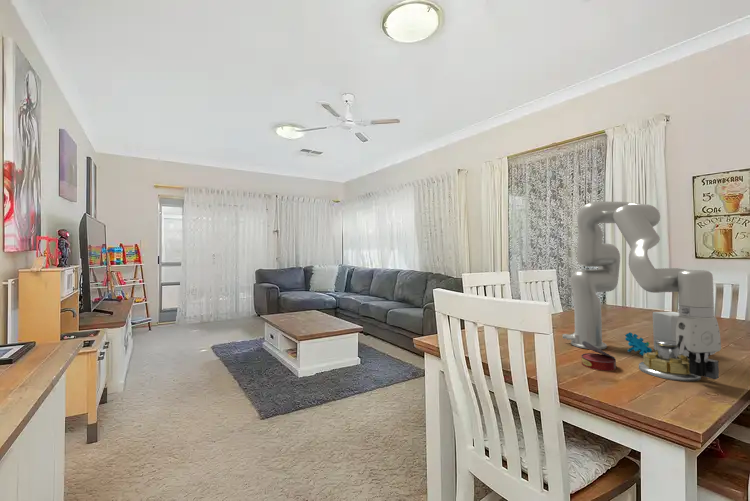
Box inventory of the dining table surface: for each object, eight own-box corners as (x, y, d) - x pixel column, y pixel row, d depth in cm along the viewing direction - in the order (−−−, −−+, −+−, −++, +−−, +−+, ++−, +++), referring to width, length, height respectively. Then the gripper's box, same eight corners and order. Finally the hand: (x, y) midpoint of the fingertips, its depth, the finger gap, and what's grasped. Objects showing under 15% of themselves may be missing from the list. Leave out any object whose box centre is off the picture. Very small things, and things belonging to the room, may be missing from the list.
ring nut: (637, 365, 110) (637, 349, 111) (655, 359, 116) (655, 344, 116) (708, 382, 95) (707, 364, 95) (725, 375, 100) (725, 358, 100)
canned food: (583, 374, 120) (579, 346, 125) (617, 376, 115) (612, 347, 120) (581, 368, 112) (577, 338, 116) (618, 369, 107) (612, 338, 111)
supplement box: (697, 356, 124) (696, 315, 124) (672, 356, 124) (671, 315, 124) (675, 349, 133) (674, 311, 133) (652, 349, 133) (651, 311, 133)
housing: (647, 377, 104) (646, 345, 104) (633, 362, 118) (632, 334, 118) (711, 384, 98) (710, 350, 98) (688, 367, 112) (687, 338, 112)
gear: (641, 354, 122) (622, 330, 129) (628, 362, 125) (610, 339, 132) (661, 355, 125) (642, 332, 132) (648, 363, 129) (630, 340, 136)
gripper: (686, 315, 94) (688, 381, 94) (733, 313, 96) (735, 377, 96) (660, 310, 102) (662, 371, 101) (704, 309, 103) (706, 369, 103)
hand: (697, 374), depth 98 cm, fingers closed
